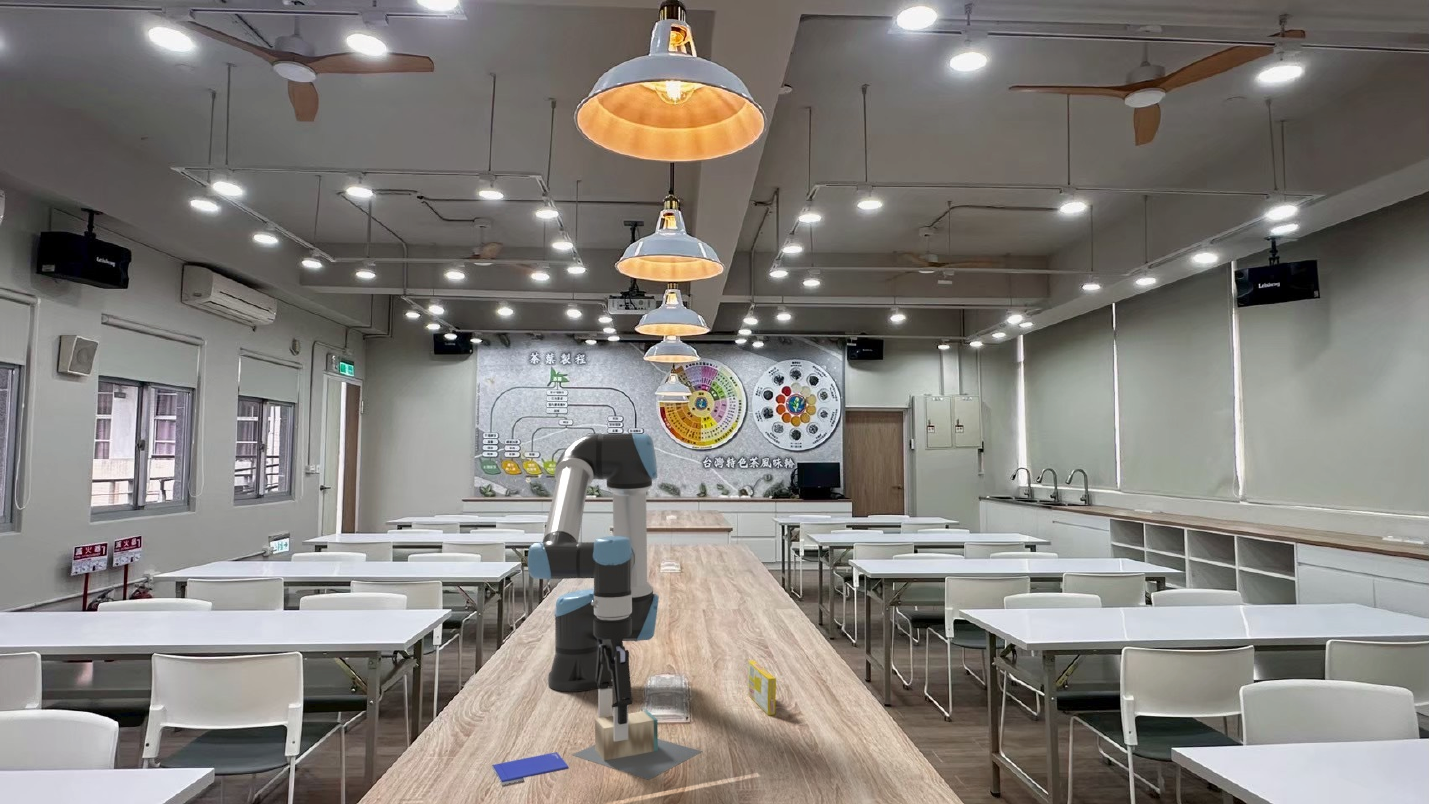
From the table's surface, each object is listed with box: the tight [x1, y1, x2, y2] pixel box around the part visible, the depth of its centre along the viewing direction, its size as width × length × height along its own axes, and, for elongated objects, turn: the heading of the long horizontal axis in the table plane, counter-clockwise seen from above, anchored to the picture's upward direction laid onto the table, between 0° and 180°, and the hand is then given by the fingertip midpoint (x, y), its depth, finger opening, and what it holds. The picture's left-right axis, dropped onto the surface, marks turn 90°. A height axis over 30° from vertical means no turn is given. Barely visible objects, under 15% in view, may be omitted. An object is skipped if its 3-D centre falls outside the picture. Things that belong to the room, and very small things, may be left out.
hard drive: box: [491, 751, 570, 786], centre depth 145 cm, size 2×8×12 cm
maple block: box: [594, 710, 659, 760], centre depth 153 cm, size 6×6×11 cm
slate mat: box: [571, 738, 703, 781], centre depth 151 cm, size 20×16×1 cm
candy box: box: [747, 660, 777, 716], centre depth 182 cm, size 16×2×8 cm, turn 15°
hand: (612, 730), depth 152 cm, fingers open, 10 cm apart
